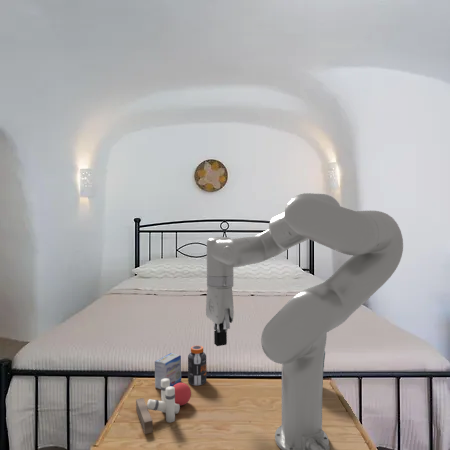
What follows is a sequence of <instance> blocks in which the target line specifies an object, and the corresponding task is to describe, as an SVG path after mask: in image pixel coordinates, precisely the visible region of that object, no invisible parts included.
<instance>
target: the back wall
mask: <svg viewBox="0 0 450 450" xmlns="http://www.w3.org/2000/svg"><path fill="white" fill-rule="evenodd" d="M135 403H136V404H135V406H136V407H135V410H136V413H137V416H138V419H139V422H140V424H141V427H142V430H143V433H144V435H147V434H150V433H153V432H154V431H153V430H154V429H153V428H154V427H153V424H154V423H153V422H154V421H153V418H152V416H151V414H150V410H149V409H147V403H146V401H145V399H144V397H142V398H141V397H140V398H137V399H135Z"/></svg>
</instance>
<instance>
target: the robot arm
mask: <svg viewBox="0 0 450 450" xmlns="http://www.w3.org/2000/svg"><path fill="white" fill-rule="evenodd" d="M308 240H310V241H312V242H314V243H317V244H319V245H321V246H325V247H326V248H329V249H331V250H334V251H336V252H338V253H341V254H344V255H347V256H351V257H350V258H348V259H347V260H346V261H345V262H344V263H343V264H342V265H340V266H339V268H338V269H337V270H336V271H335V272H334V273H333V274H331V276H330V277H328V279H326V280H325V281H324V282H321V283H320V284H317V285H314V286H311V287H308V288H305V289H304V290H301V291H299V292H298V293H297V294H295V295H294V296H293V297H291V298H290V300H289V301H288V302H287V303H285V304H284V306H283V307H282V308H281V309H280V310H278V311H277V313H276V314H275V315H274V316H273V317H272V318H271V319H270V320H269V321H268V322H267V323H266V325H265V326H264V328H263V330H262V333H261V338H260V344H261V349H262V351H263V353H264V355H265V357H267V358H268V359H269V360H270V361H272V362H274V363H276V364H278V365H279V364H280V365H282V366H281V425H280V426H279V427H277V429H276V431H275V433H274V440H275V441H274V442H275V443H276V445H277V446H278V448H280V450H330V449H331V447H330V442H329V440H330V439H329V436H328V435H327V433H326V432H325V431H324V430H323V388H322V381H323V382H324V380H323V379H324V378H323V377H324V369H323V358H324V351H325V352H326V345H327V337H328V336H327V333H329V332H330V331H332V330H334V329H336V328H338V327H340V326H341V325H342V324H344V323H345V322H346V321H347V320H348V319H349V317H351V316H352V315H353V314H354V313H355V312H356V311H357V310H358V309H359V308H360V307H361V306H362V305H364V304H365V303H366V302H368V301H369V299H370V298H371V297H372V296H373V295H374V294H375V293H376V292H377V291H378V290H379V289H380V288H382V287H383V286H384V285H385V284H386V282H387V281H389V279H390V278H391V277H392V276H393V275H394V274H395V272H396V270H397V269H398V266H399V264H400V262H401V260H402V257H403V251H404V239H403V234H402V230H401V229H400V227H399V224H398V223H397V221H396V220H395V219H394V218H393V217H392V216H391V215H389V214H388V213H385V212H383V211H379V210H353V209H350V208H346V207H343V206H342V205H340V203H339V201H338V200H337V199H336V198H334V197H333V196H332V195H329V194H326V193H314V192H313V193H311V192H310V193H308V192H307V193H305V192H304V193H300V194H298V195H294V197H292V198H291V199H290V200H289V201H288V202H287V204H286V206H285V210H284V211H282V212H280V213H278V214H276V215H274V216H273V217H271V219H270V221H269V223H268V229H267V230H265V231H263V232H261V233H258V234H256V235H252V236H245V237H244V236H243V237H237V238H231V237H228V236H227V237H226V236H214V237H213V236H212V237H210V238H208V239H207V241H206V287H207V289H206V300H205V302H206V304H205V316H206V318H208V319H209V320H210V321H212V322H213V324H212V325H213V333H214V334H213V338H214V339H213V341H214V342H213V343H214V345H215V346H216V347H220V346H221V347H222V346H226V345H228V343H227V342H228V341H227V340H228V339H227V338H228V337H227V336H228V335H227V334H228V330H229V329H231V326H230V325H231V324H232V323H233V322H234V312H235V311H234V293H233V287H234V268H239V267H244V266H245V267H246V266H249V265H255V264H259V263H262V262H265V261H267V260H270V259H271V258H274V257H276V256H278V255H281V254H282V253H284V252H287V251H289V249H291V248H293V247H295V246H297V245H299V244H301V243H304V242H305V241H308Z"/></svg>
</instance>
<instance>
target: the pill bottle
mask: <svg viewBox="0 0 450 450" xmlns="http://www.w3.org/2000/svg"><path fill="white" fill-rule="evenodd" d="M187 382H188V384H189V385H192V386H202V385H204V384H205V383H206V382H207V354H206V353H205V352H204V346H202V345H193V346H191V347H190V352H189V354H188V356H187Z"/></svg>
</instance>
